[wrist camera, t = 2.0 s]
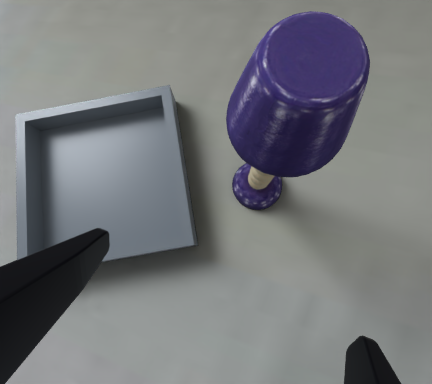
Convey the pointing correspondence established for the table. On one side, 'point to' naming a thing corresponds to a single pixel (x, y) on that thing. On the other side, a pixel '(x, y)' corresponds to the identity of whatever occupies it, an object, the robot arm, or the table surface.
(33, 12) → the table surface
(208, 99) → the table surface
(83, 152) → the desk tray
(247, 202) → the toy lamp
